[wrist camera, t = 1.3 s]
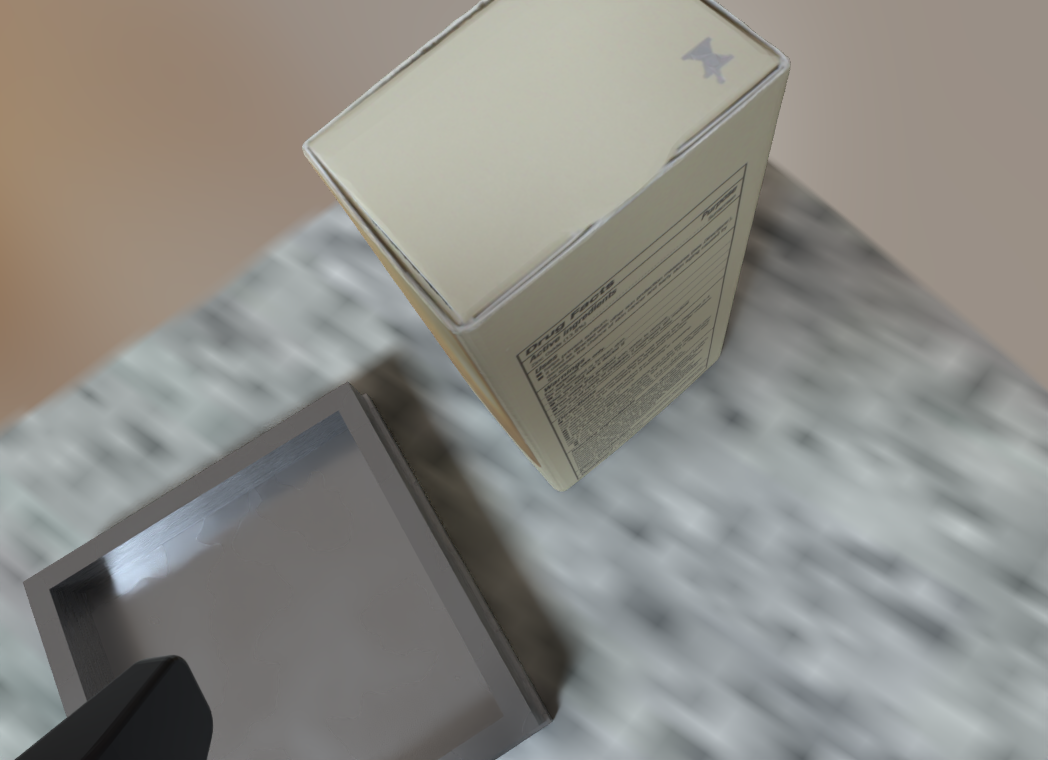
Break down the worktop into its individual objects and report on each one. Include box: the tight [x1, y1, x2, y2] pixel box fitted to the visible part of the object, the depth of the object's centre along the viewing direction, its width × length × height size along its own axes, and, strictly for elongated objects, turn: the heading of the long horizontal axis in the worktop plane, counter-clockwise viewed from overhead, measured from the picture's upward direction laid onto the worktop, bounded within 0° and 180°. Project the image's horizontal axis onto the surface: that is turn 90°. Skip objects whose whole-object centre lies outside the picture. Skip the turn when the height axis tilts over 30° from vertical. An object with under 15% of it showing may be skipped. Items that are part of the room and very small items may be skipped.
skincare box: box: [302, 0, 790, 491], centre depth 17 cm, size 6×4×12 cm
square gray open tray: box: [23, 382, 553, 760], centre depth 20 cm, size 10×10×2 cm
